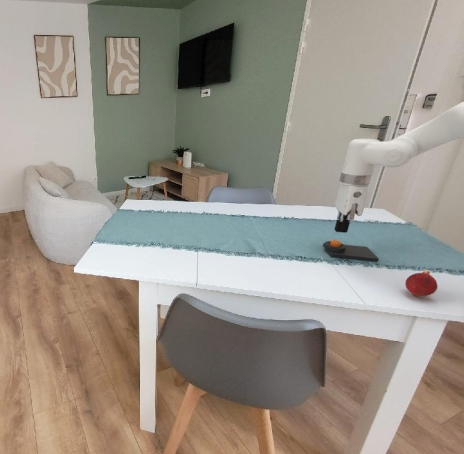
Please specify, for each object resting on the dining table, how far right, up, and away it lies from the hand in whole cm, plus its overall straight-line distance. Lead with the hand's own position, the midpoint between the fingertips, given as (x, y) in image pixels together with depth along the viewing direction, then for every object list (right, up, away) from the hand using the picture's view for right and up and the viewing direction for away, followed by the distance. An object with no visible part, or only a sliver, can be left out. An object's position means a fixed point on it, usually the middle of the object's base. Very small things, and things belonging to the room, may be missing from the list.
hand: (340, 231), depth 100 cm
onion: (+4, -18, -20) cm, 27 cm away
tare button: (0, -5, +2) cm, 6 cm away
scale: (+4, -8, +2) cm, 9 cm away
